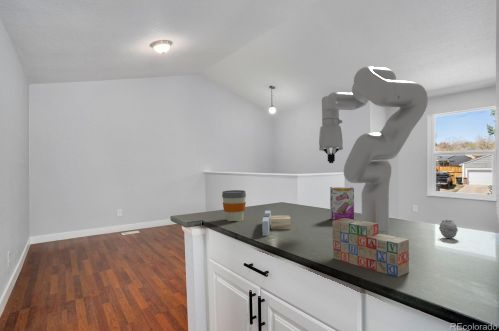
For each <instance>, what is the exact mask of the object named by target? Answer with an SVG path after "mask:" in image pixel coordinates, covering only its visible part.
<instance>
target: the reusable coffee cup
mask: <svg viewBox="0 0 499 331" xmlns="http://www.w3.org/2000/svg"><path fill="white" fill-rule="evenodd" d="M221 193H222V194H221V197H222V206H223V211H224V215H225V220H228V221H227V222H229V221H238V222H242V221H243V220H244V215H245V210H246V197H247V195H246V194H247V193H246V190H243V189H242V190H241V189H239V190H237V189H233V190H230V189H229V190H223V191H222V192H221ZM241 220H242V221H241Z"/></svg>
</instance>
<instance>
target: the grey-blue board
mask: <svg viewBox="0 0 499 331" xmlns="http://www.w3.org/2000/svg"><path fill="white" fill-rule="evenodd" d="M271 214H272V212H271V210H265V211H264V214H263V218H262V221H261V223H262V224H261V228H262V229H261V232H262V236H265V237H266V236H267V237H269V235H270V231H271V216H272V215H271Z"/></svg>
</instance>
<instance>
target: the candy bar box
mask: <svg viewBox="0 0 499 331" xmlns="http://www.w3.org/2000/svg"><path fill="white" fill-rule="evenodd" d="M354 197H355V188H354V187H353V186H331V187H329V200H330V202H329V205H330V206H329V208H330V210H329V214H330V215H329V218H330V220H331V221H334V220H339V219H343V218H347V219H352V220H355V198H354Z"/></svg>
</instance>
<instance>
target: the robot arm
mask: <svg viewBox="0 0 499 331" xmlns="http://www.w3.org/2000/svg"><path fill="white" fill-rule="evenodd" d="M428 101H429V100H428V93H427V90H426V88H425V87H424V86H423V85H421V83H418V82H415V81H408V80H397V76H396V74H395V72H394V71H393V70H392V69H390V68H387V67H379V66H377V67H374V66H364V67H362V68H359V69H358V70H357V71H356V73H355V75H354V77H353V83H352V87H351V92H345V91H340V92H339V91H333V92H331V93H329V94H328V95H325V96H324V97H323V96H322V99H321V126H320V127H319V134H318V135H319V138H318V141H319V142H318V144H319V145H318V146H319V147H318V150H319V151H320V152H324V153H326V155H327V162H328V164H334V162H335V161H336V156H335V155H336V153H337V152H339V151H341V150H342V151H343V149H344V147H343V131H342V127H341V125H340V124H342V123H343V120H341V119H340V113H339V112H340V111H353V110H357V109H360V108H362V107H365V106H366V105H367V104H368V102H371V103H372V104H373V105H375V106H378V107H381V108H382V107H384V108H386V107H387V108H398V109H397V111H395V112H394V113H392V115H390V116H389V118H388V119H387V120H386V122H385V124H384V126H383V127H382V129H381V130H380V131H379V132H366V133H363V134H361V135H360V136H359V137H358V138H357V139H356V140H355V142H354V144H353V146H352V148H351V149H350V152H349V154H348V157H347V159H346V161H345V164H344V166H343V175H344V178H345V180H346V181H347V182H349V183H351V184H364V185H363V188H362V191H361V221H366V222H372V223H378V234H384V235H389V236H390V208H389V207H390V203H389V201H390V198H389V197H390V196H389V194H390V192H389V191H390V180H391V175H392V166H391V163H390V161H389V160H392V159H395V158H396V157H397V156H398V154H399V153H400V152H401V150H402V148H403V146H404V145H405V143H406V141H407V140H408V139H409V137H410V134H411V133H412V132H413V129H415V127H416V125H417V124H418V123H419V121H420V120H421V119H422V118H423V115H424V114H425V112H426V110H427V108H428ZM330 148H331V149H332V150H330Z"/></svg>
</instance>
